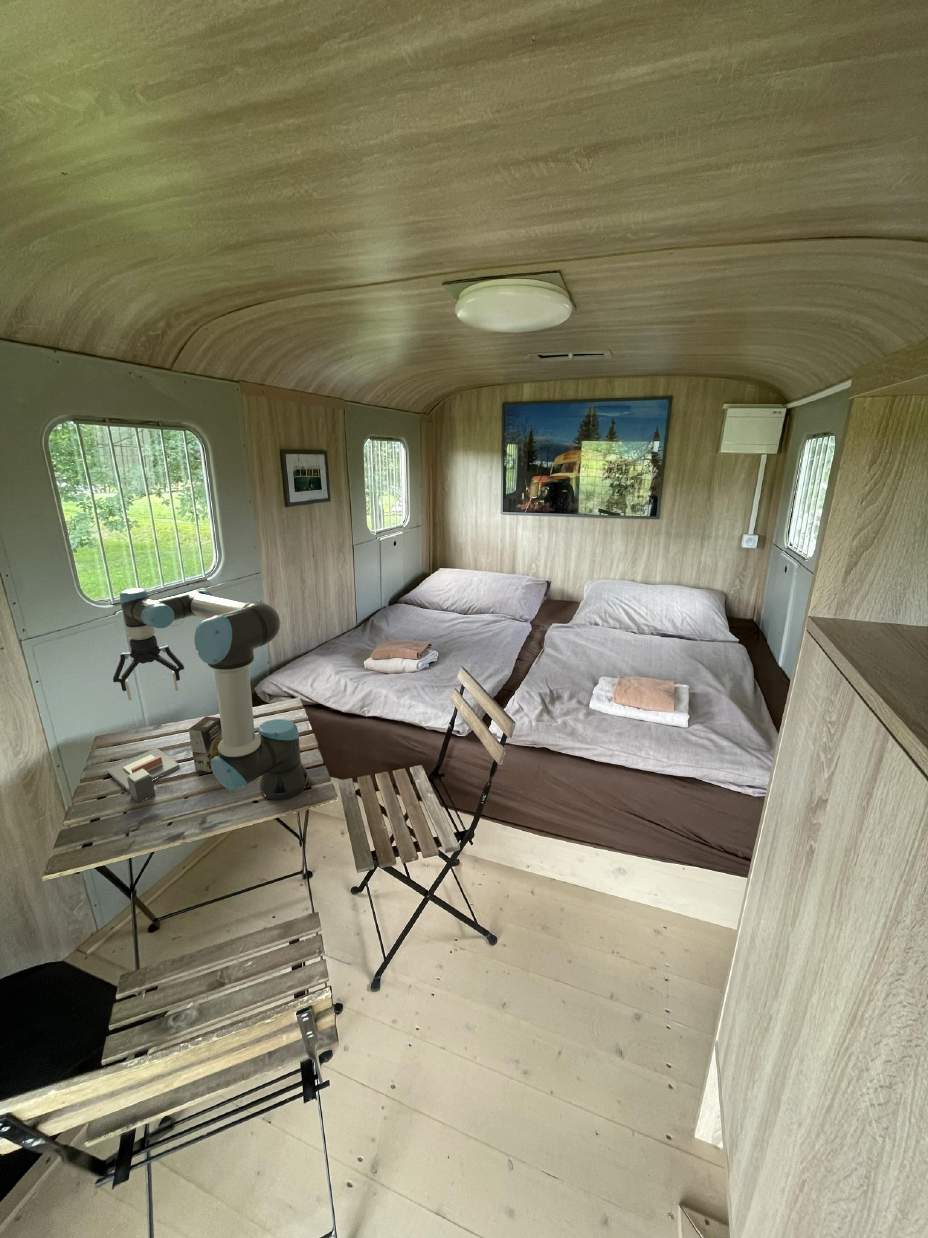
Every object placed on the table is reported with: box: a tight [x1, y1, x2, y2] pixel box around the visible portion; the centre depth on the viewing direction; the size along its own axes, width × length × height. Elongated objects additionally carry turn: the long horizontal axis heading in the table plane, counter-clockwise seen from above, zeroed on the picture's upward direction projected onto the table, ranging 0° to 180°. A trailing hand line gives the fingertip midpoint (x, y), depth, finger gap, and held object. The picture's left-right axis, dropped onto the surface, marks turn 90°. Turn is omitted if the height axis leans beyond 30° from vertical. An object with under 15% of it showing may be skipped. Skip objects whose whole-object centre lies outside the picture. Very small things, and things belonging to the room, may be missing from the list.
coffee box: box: [188, 715, 223, 773], centre depth 173 cm, size 9×6×16 cm
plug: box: [127, 769, 156, 804], centre depth 158 cm, size 5×5×8 cm
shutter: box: [123, 755, 163, 774], centre depth 170 cm, size 8×9×3 cm
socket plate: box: [106, 747, 181, 793], centre depth 171 cm, size 16×16×1 cm
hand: (153, 693), depth 170 cm, fingers open, 13 cm apart
